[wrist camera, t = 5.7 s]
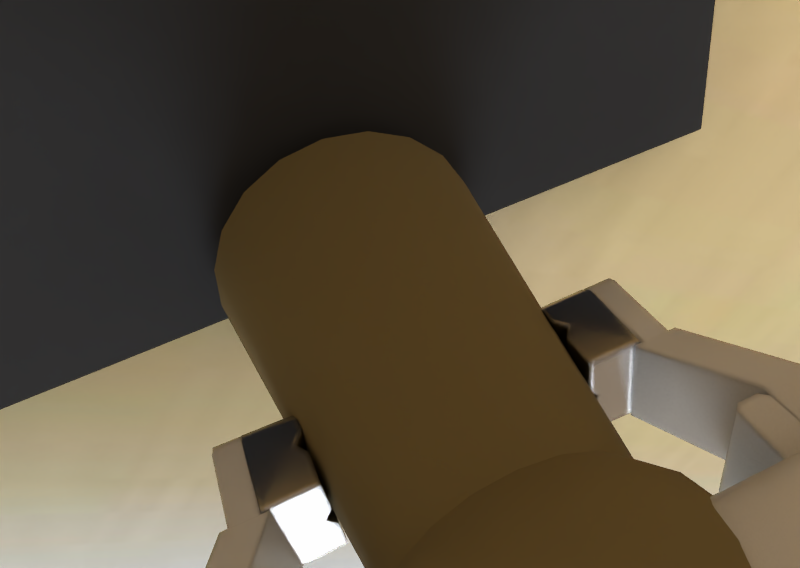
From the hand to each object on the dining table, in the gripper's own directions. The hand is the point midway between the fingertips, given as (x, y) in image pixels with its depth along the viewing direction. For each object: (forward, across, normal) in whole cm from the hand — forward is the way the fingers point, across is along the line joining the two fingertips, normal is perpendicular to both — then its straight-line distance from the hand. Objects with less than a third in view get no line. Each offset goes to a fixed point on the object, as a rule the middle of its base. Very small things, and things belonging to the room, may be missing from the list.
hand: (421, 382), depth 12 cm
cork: (+4, 0, 0) cm, 4 cm away
